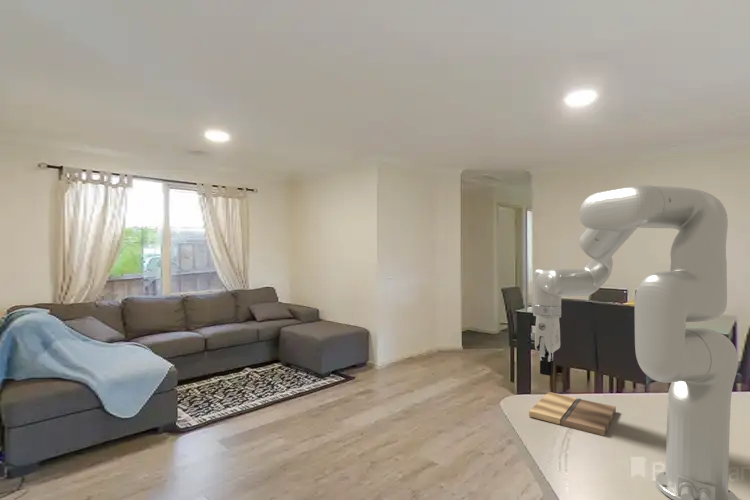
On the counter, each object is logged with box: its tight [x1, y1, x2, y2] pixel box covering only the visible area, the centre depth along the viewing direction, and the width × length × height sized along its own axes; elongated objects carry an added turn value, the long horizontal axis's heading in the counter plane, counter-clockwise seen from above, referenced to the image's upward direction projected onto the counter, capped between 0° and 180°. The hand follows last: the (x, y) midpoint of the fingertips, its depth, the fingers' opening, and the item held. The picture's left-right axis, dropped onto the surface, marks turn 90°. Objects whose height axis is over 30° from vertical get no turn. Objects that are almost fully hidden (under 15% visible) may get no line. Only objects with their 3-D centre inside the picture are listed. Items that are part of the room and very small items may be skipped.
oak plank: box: [528, 391, 578, 425], centre depth 122 cm, size 20×8×2 cm, turn 143°
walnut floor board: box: [560, 398, 617, 437], centre depth 116 cm, size 20×10×2 cm, turn 143°
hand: (546, 374), depth 123 cm, fingers closed
